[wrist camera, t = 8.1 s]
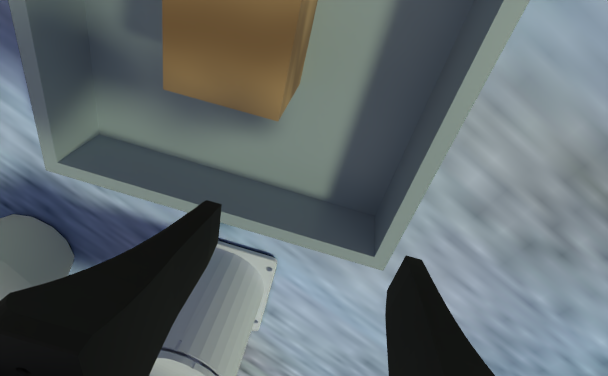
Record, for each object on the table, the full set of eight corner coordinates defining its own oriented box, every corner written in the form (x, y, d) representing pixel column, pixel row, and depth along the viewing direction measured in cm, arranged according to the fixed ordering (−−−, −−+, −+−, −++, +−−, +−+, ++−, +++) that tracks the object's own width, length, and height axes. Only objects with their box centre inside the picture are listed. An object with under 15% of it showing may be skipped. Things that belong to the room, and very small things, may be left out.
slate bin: (382, 221, 24) (383, 270, 20) (96, 136, 24) (46, 170, 20) (584, -199, 13) (670, -261, 9) (39, -356, 13) (-99, -479, 9)
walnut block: (299, 84, 19) (278, 121, 15) (209, 59, 19) (163, 89, 15) (322, -23, 16) (304, -13, 12) (216, -52, 16) (161, -52, 12)
